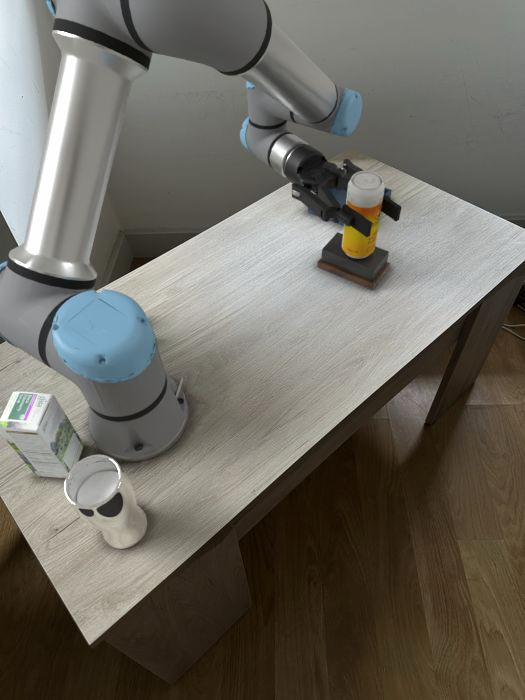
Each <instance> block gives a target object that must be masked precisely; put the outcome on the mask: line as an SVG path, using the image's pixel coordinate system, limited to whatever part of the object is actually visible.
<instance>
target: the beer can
mask: <svg viewBox="0 0 525 700" xmlns="http://www.w3.org/2000/svg"><path fill="white" fill-rule="evenodd" d="M385 188H386V185H385V183H384V178H383V176H382V175H381V174H380V173H378V172H377V171H373V170H364V171H360V172H357V173H355V174H354V175H353V176H352V177H351V180H350V181H349V183H348V189H347V199H346V205H348V206H349V207H350V208H352V209H353V210H355V211H356V212H358V213H359V214H360V215H362V216H363V217H365V218H366V219H368V220H369V221H370V222H372V227H371V233H370V236H369V237H365V236H364V235H363V234H361V233H360V232H359V231H357V230H356V229H354V228H353V227H352V226H350V227H349V226H346V225H345V224H344V226H343V228H342V234H343V238H342V249H343V251H344V252H345V253H346V254H347V255H348V256H350V257H352V258H356V259H361V258H365V257H367V256H369V255H370V254H371V253H373V251H374V249H375V246H376V244H377V243H376V242H377V238H378V237H377V236H378V230H379V226H380V219H381V213H382V212H381V207H382V201H383V195H384V189H385Z"/></svg>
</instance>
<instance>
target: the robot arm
mask: <svg viewBox="0 0 525 700" xmlns="http://www.w3.org/2000/svg"><path fill="white" fill-rule="evenodd" d="M45 3H46V5H47V8H48V10H49V11H50V13H51V14H52V16H53V17H54V20H53V26H52V31H51V36H52V37H53V39H54V41H55V43H56V44H57V46H58V48H59V50H60V54H61V58H60V63H59V68H58V73H57V78H56V83H55V88H54V93H53V98H52V103H51V107H50V112H49V117H48V122H47V126H46V127H47V128H46V132H45V136H44V137H45V138H44V143H43V147H42V152H41V158H40V161H39V167H38V171H37V177H36V181H35V187H34V192H33V195H32V196H33V197H32V201H31V207H30V210H29V216H28V220H27V221H28V222H27V227H26V231H25V235H24V240H23V242H22V243H21V245H18V246H16V247H14V248H12V249H10V250H9V253H8V256H7V260H6V261H4V262H1V263H0V337H1V338H2V339H3V340H5V342H6V343H8V344H9V345H11V346H13V347H14V348H18V349H20V350H21V351H23V352H24V353H26V354H27V355H29V356H31V357H32V358H34V359H36V361H38V362H40V363H42V364H43V365H45V366H46V367H48V368H49V369H51V370H53V371H55V372H56V373H58V374H60V375H61V376H62V377H64V378H66V379H67V380H69V381H70V382H72V383H73V384H74V385H75V386H76V387H77V388H78V389H79V391H80V393H81V394H82V396H83V397H84V399H85V401H86V403H87V404H88V419H87V420H88V428H89V433H90V435H91V438H92V439H93V441H94V443H95V444H96V446H97V448H98V449H100V451H101V452H103V453H104V455H107V456H109V457H111V458H113V459H114V460H116V461H122V462H127V463H130V462H132V463H133V462H135V463H136V462H143V461H149V460H150V459H154V458H156V457H158V456H161V455H162V454H164V453H165V452H167V451H169V450H170V449H171V448H172V447H173V446H174V445H175V444H176V443H177V442H178V441H179V440H180V438H181V437H182V435H183V434H184V432H185V430H186V428H187V425H188V422H189V414H190V411H189V410H190V409H189V404H188V400H187V397H186V395H185V392H184V390H183V389H182V385H183V383H184V378H183V377H181V378H180V382H179V384H178V382H177V381H175V379H173V378H172V377H171V376H170V375H169V374H168V373H167V372H166V369H165V366H164V363H163V360H162V356H161V353H160V350H159V347H158V343H157V339H156V334H155V330H154V327H153V326H152V323H151V322H150V320H149V318H148V316H147V314H146V312H145V310H144V309H143V307H142V306H141V305H140V304H139V303H138V302H137V301H136V300H135V299H134V298H132V297H131V296H129V295H128V294H125V293H123V292H120V291H116V290H113V289H105V288H103V289H102V290H101V291H100V292H97V291H96V289H95V286H96V281H97V277H98V272H97V270H96V269H95V267H94V266H93V264H92V262H91V260H90V258H91V255H92V250H93V247H94V243H95V239H96V234H97V230H98V226H99V221H100V217H101V213H102V209H103V205H104V202H105V201H104V200H105V197H106V193H107V188H108V184H109V180H110V177H111V173H112V168H113V164H114V160H115V156H116V152H117V151H116V150H117V148H118V143H119V139H120V134H121V131H122V126H123V122H124V118H125V115H126V110H127V107H128V101H129V97H130V95H131V90H132V85H133V83H134V82H135V81H137V80H139V79H141V78H143V77H144V76H146V75H148V72H149V70H150V64H151V62H152V56H153V54H155V55H162V56H166V57H171V58H175V59H181V60H185V61H189V62H193V63H198V64H201V65H204V66H206V67H210V68H212V69H214V70H216V71H217V72H219V73H220V74H222V75H224V76H227V77H241V78H242V79H244V80H245V81H246V83H245V89H246V99H247V112H248V113H247V114H248V117H246V118H245V119H244V120H243V122H242V125H241V129H240V130H239V139H240V143H241V145H242V146H243V147H244V148H245V149H246V150H247V151H248V152H249V153H250V154H251V155H252V156H253V157H255V158H256V159H258V160H260V161H261V162H263V163H264V164H266V166H268V167H270V168H271V169H272V170H274V171H275V172H277V173H278V174H279V175H281V176H282V177H283V178H285V179H287V181H288V182H290V183H291V198H292V199H295V200H296V201H299V202H300V203H302V204H303V205H304V206H305V207H306V208H307V209H308V208H309V209H310V210H311V211H312V212H314V213H315V214H316V215H317V216H316V215H315V216H316V217H318V218H319V219H320V220H321V221H323V222H324V223H325V222H326V223H327V222H329V219H330V218H333V222H332V223H334V224H337V223H338V222H339V221H341V222H342V223H344V224H345V225H346V226H349V227H350V226H352V227H353V228H354V229H356V230H357V231H359V232H360V233H361V234H363V235H364V236H365V237H369V236H370V233H371V227H372V222H370V221H369V220H368V219H366V218H365V217H363V216H362V215H360V214H359V213H358V212H356V211H355V210H353V209H352V208H350V207H349V206H348V205H346V204H345V205H343V206H342V208H341V205H340V204H339V202H338V201H337V199H336V198H335V197H334V195H333V194H332V192H331V191H330V190H329V189H331V188H334V189H336V190H341V189H343V190H345V191H347V189H348V183H349V181H350V180H351V177H352V176H353V175H354V174H355V173H357V172H360V171H365V170H364V169H362V168H361V167H359V166H357V165H356V164H354V163H353V162H352V161H351V160H350V159H349V158H344V159H343V160H342V161H343V162H342V163H339V164H337V163H335V162H331V161H328V159H327V158H326V157H325V155H324V154H323V152H321V151H320V150H319V149H317V148H315V147H314V146H313V145H310V144H309V143H308V142H307V141H305V140H304V139H302V138H300V137H298V136H297V135H296V134H294V133H293V132H291V131H290V130H288V122H291V123H293V124H297V125H301V126H304V127H308V128H311V129H313V130H314V129H315V130H317V131H321V132H324V133H328V134H329V135H331V136H333V135H334V136H337V137H343V138H346V137H349V136H350V135H351V134H352V133H353V132H354V131H355V129H356V128H357V126H358V124H359V121H360V119H361V116H362V115H361V114H362V111H363V99H362V96H361V94H360V93H359V92H358V91H355V90H352V89H349V88H348V87H342V86H339V85H337V84H335V82H333V81H332V80H331V79H330V78H329V76H327V74H326V73H324V72H323V70H322V69H320V68H319V66H318V65H317V64H316V63H315V62H314V61H312V60H311V58H310V57H309V56H308V55H307V54H305V52H304V51H303V50H301V48H300V47H299V46H298V45H297V44H296V43H295V42H294V41H293V40H292V39H290V37H289V36H288V35H287V34H286V33H285V32H283V30H282V29H281V28H280V27H279V26H278V25H277V24H276V23H275V22H274V20H273V14H272V11H271V8H270V6H269V5H268V3H267V2H266V1H265V0H46V1H45ZM402 207H403V206H402V205H400V204H398V203H397V202H395V201H394V200H392V198H390V197H389V196H388V195H386V194H385V193H384V195H383V201H382V207H381V213H383V214H384V215H386V216H387V217H388V218H390V219H391V220H393V221H394V222H398V221H399V220H400V219H401V213H402Z"/></svg>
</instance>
